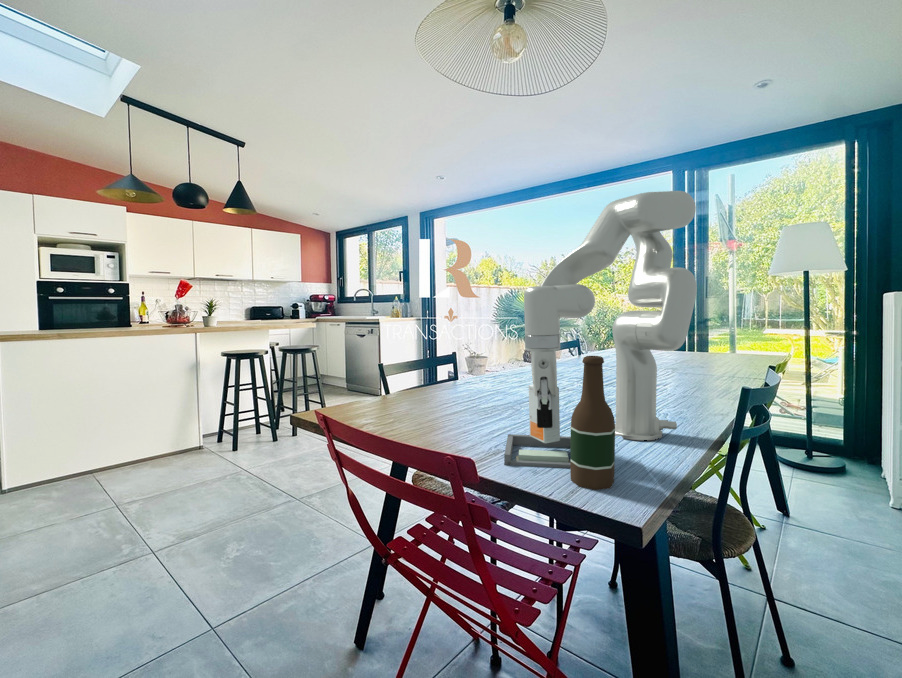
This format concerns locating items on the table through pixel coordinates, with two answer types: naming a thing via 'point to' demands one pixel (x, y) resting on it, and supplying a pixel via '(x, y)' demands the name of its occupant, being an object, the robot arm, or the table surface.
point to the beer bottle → (593, 432)
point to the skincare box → (538, 433)
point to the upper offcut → (543, 456)
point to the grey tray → (530, 441)
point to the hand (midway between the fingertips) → (544, 421)
